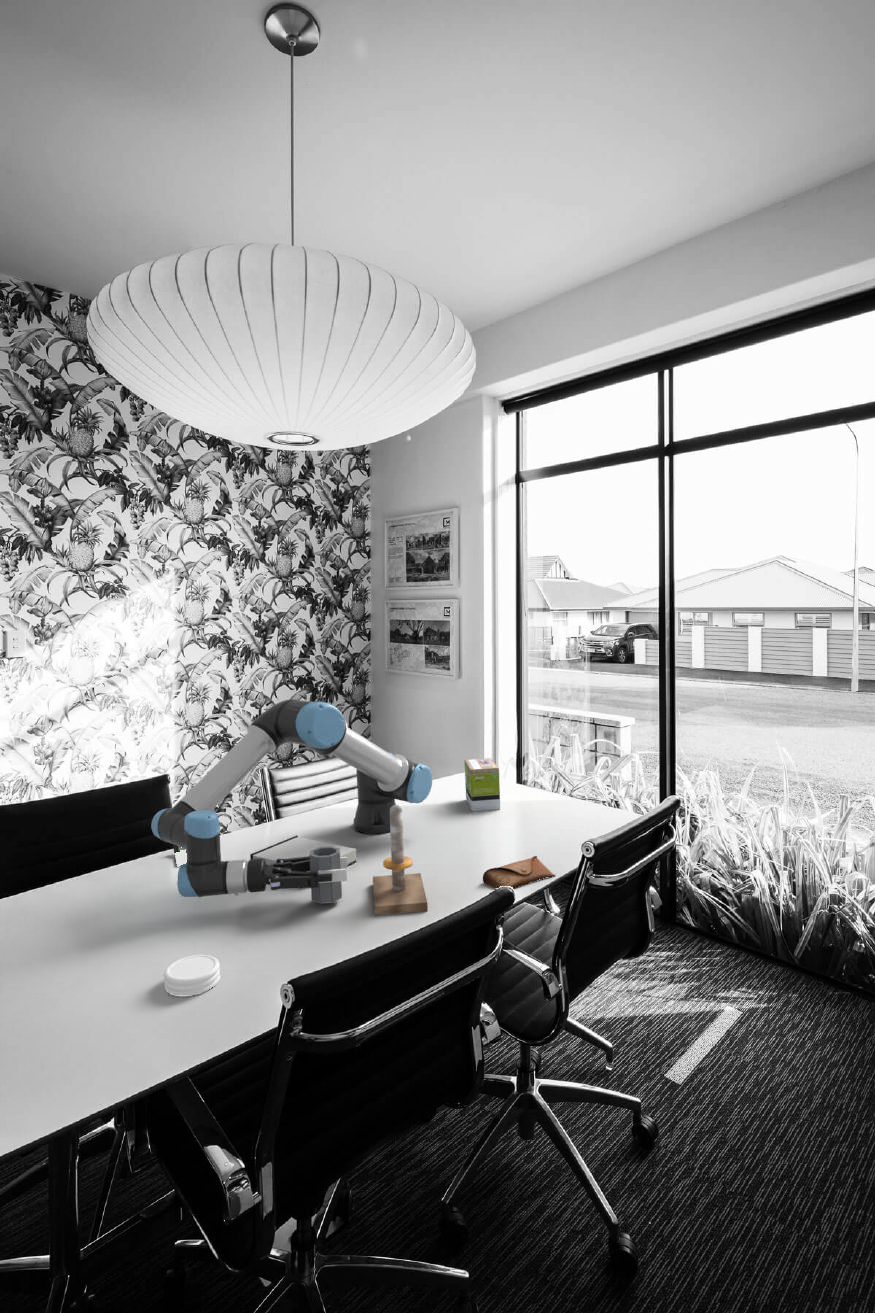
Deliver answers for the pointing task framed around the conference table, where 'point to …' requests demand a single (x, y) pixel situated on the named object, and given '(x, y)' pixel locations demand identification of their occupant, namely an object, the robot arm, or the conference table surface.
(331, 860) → the sleeve
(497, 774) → the tea box
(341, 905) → the conference table surface
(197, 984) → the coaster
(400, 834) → the post stand
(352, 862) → the disc drive
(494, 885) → the sunglasses case
